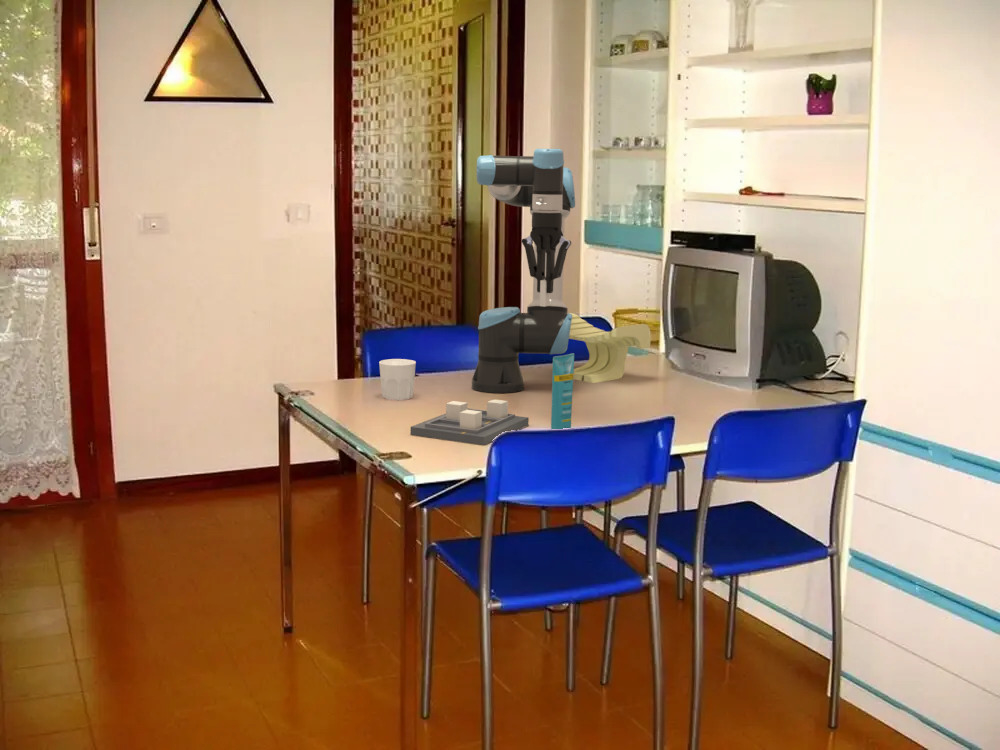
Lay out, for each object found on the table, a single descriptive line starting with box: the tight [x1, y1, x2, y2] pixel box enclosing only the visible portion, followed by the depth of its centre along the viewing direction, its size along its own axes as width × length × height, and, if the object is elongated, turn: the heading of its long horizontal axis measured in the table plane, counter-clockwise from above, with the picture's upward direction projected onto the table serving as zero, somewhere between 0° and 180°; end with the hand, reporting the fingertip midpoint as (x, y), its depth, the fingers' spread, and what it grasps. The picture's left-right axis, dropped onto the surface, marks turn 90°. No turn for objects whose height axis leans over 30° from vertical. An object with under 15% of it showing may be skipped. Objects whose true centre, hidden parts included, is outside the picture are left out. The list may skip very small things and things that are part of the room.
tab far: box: [486, 398, 509, 419], centre depth 293 cm, size 4×4×4 cm
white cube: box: [460, 410, 482, 430], centre depth 280 cm, size 4×4×4 cm
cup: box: [378, 358, 417, 401], centre depth 325 cm, size 10×10×10 cm
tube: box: [550, 353, 575, 430], centre depth 287 cm, size 7×5×19 cm, turn 139°
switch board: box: [410, 407, 529, 446], centre depth 289 cm, size 20×24×3 cm
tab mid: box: [445, 400, 468, 420], centre depth 290 cm, size 4×4×4 cm
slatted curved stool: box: [569, 312, 652, 384], centre depth 360 cm, size 30×16×18 cm, turn 44°
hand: (544, 305), depth 297 cm, fingers closed
